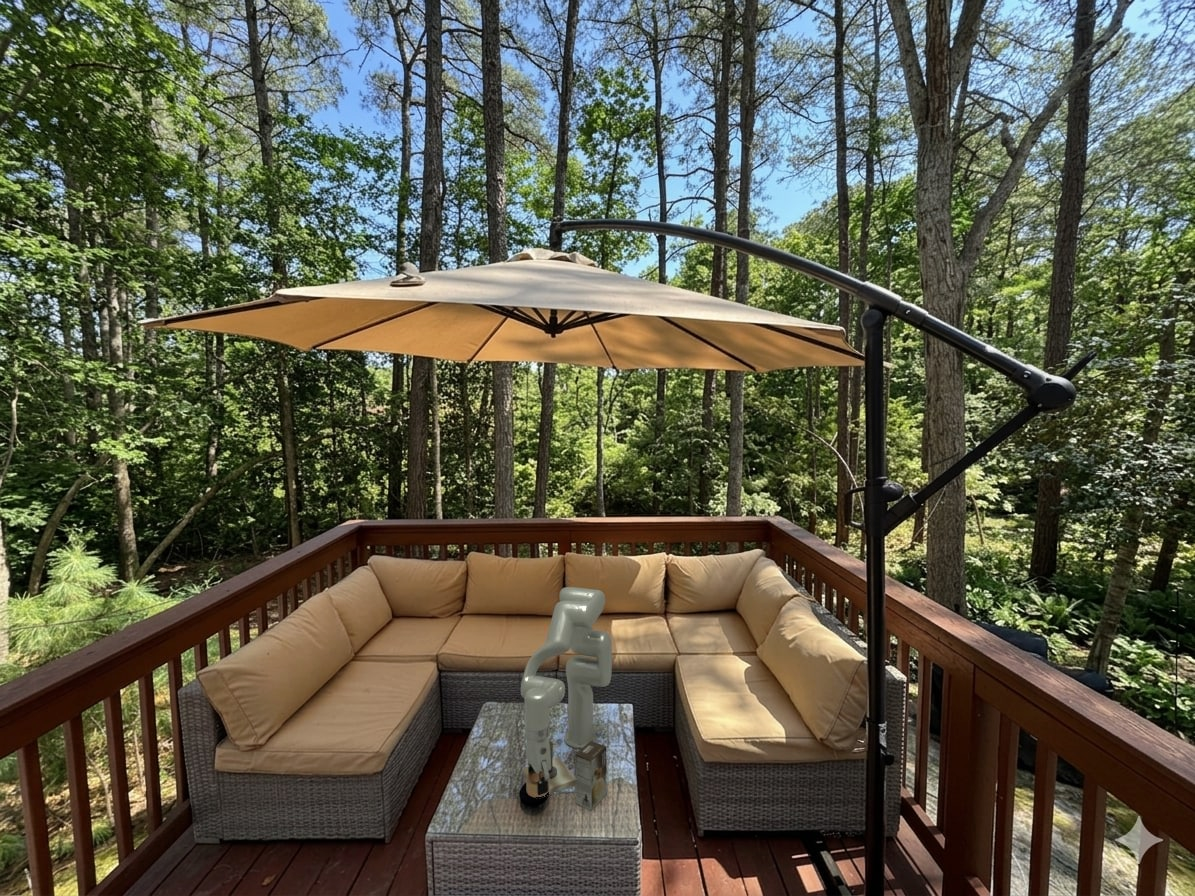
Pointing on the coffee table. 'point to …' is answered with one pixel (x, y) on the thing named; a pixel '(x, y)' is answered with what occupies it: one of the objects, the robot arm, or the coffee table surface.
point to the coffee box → (591, 775)
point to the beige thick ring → (534, 784)
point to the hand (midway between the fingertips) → (537, 785)
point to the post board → (557, 774)
